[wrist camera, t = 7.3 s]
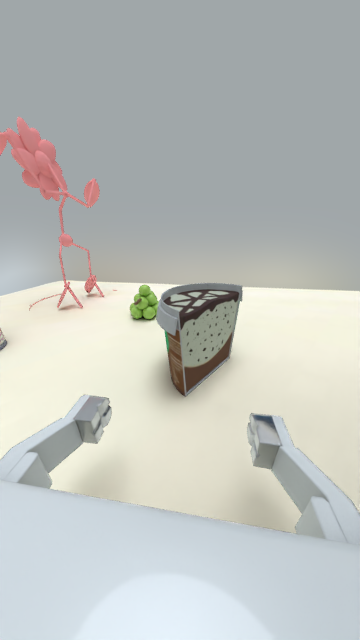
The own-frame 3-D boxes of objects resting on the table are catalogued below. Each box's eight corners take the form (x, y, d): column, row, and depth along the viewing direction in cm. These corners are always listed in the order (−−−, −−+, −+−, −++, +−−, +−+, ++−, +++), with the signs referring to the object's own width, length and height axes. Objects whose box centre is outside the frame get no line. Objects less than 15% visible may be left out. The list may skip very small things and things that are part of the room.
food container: (200, 338, 30) (203, 278, 26) (234, 353, 27) (244, 284, 23) (138, 376, 22) (129, 296, 18) (175, 405, 18) (173, 312, 14)
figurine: (121, 289, 60) (101, 150, 45) (58, 322, 37) (-22, 59, 22) (79, 287, 62) (48, 155, 48) (-4, 316, 39) (-110, 79, 25)
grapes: (167, 306, 45) (166, 279, 42) (155, 327, 34) (153, 293, 32) (139, 305, 46) (136, 279, 43) (119, 325, 35) (114, 292, 33)
